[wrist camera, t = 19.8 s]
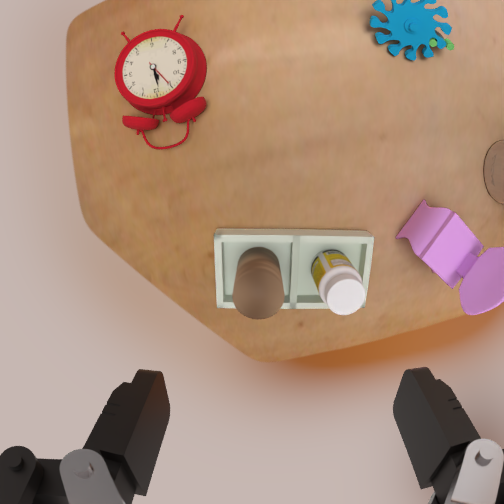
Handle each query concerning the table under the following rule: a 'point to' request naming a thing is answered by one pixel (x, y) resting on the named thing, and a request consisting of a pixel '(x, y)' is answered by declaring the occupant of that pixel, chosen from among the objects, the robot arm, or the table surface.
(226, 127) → the table surface
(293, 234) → the slot rack
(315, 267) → the supplement bottle
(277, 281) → the walnut dowel
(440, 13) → the gear
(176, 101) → the alarm clock
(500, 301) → the toy chair
